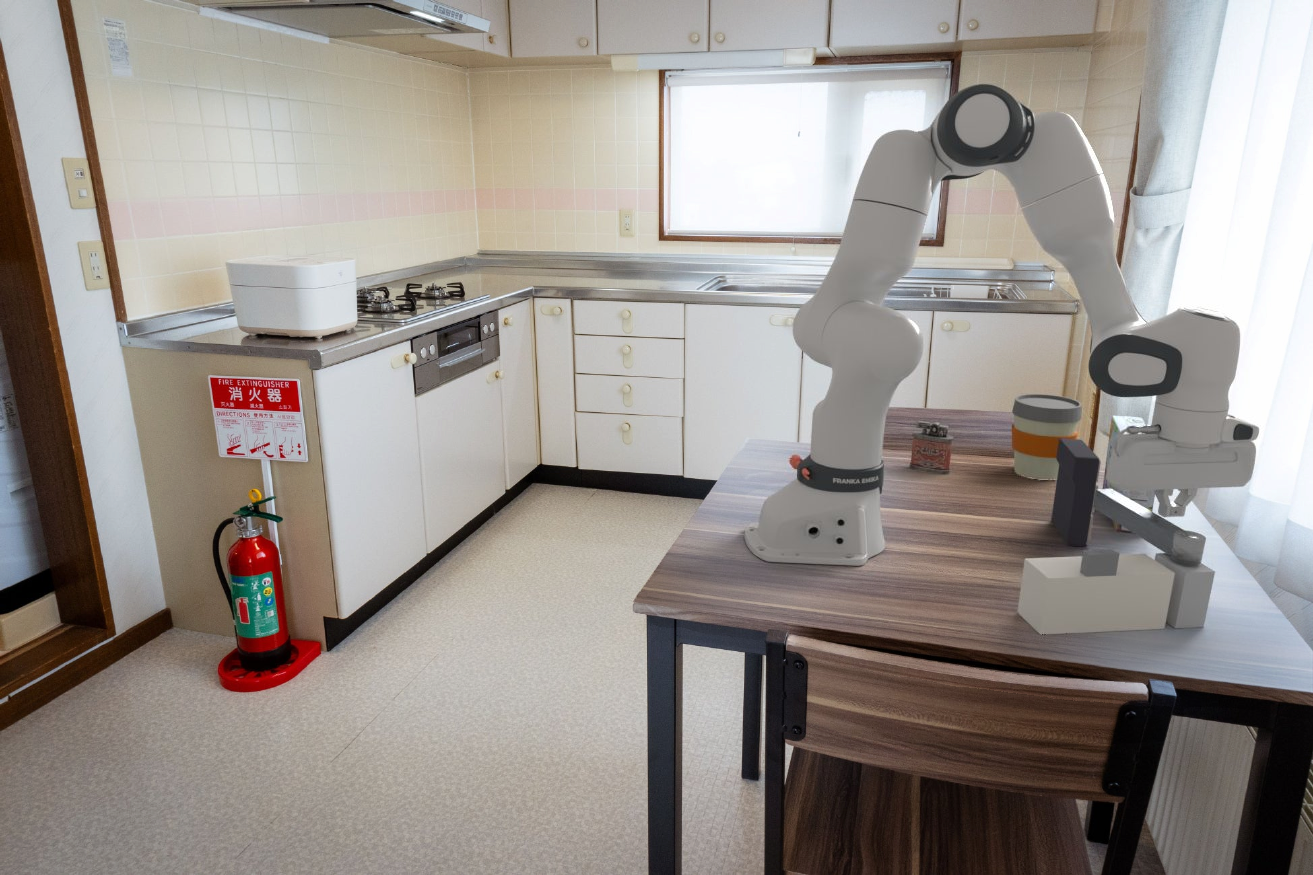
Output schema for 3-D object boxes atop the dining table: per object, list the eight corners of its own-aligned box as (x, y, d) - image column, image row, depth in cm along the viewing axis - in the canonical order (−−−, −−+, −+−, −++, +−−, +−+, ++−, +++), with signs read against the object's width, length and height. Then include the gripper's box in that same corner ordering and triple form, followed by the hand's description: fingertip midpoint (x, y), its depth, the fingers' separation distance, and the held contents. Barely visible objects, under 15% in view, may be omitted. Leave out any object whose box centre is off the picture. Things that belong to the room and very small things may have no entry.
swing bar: (1207, 564, 112) (1212, 540, 111) (1181, 565, 111) (1186, 541, 110) (1111, 506, 131) (1115, 486, 130) (1089, 507, 131) (1092, 486, 130)
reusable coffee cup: (1004, 460, 180) (1013, 391, 176) (1070, 467, 176) (1081, 396, 172) (1004, 479, 169) (1013, 405, 165) (1074, 487, 165) (1086, 411, 160)
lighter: (951, 471, 174) (956, 423, 171) (947, 475, 171) (952, 427, 168) (912, 464, 178) (916, 418, 175) (907, 468, 175) (911, 421, 172)
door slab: (1040, 634, 111) (1051, 556, 108) (1017, 612, 117) (1027, 537, 113) (1164, 628, 112) (1179, 551, 109) (1135, 607, 118) (1148, 533, 115)
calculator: (1091, 548, 137) (1105, 459, 133) (1062, 545, 138) (1075, 457, 134) (1073, 522, 148) (1086, 439, 143) (1047, 520, 148) (1058, 437, 144)
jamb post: (1175, 628, 112) (1185, 572, 110) (1146, 606, 118) (1155, 553, 116) (1203, 626, 113) (1215, 571, 111) (1173, 605, 119) (1183, 552, 116)
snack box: (1098, 490, 163) (1110, 414, 159) (1131, 494, 161) (1144, 416, 157) (1113, 531, 144) (1127, 445, 140) (1151, 536, 142) (1166, 449, 138)
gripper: (1132, 432, 117) (1116, 526, 121) (1271, 428, 119) (1251, 521, 123) (1104, 420, 123) (1090, 510, 127) (1236, 416, 125) (1218, 505, 129)
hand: (1170, 515), depth 125 cm, fingers closed
